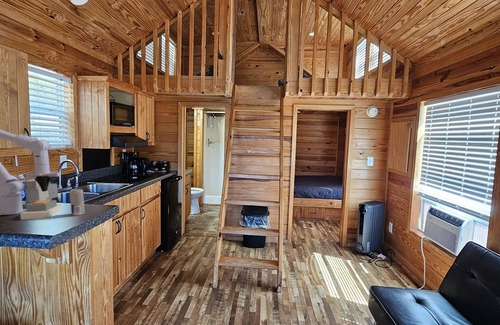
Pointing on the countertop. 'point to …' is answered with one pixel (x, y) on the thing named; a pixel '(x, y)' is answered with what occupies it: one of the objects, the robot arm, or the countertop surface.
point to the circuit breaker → (39, 191)
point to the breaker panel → (41, 210)
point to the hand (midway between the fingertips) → (44, 191)
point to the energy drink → (77, 202)
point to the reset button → (41, 202)
